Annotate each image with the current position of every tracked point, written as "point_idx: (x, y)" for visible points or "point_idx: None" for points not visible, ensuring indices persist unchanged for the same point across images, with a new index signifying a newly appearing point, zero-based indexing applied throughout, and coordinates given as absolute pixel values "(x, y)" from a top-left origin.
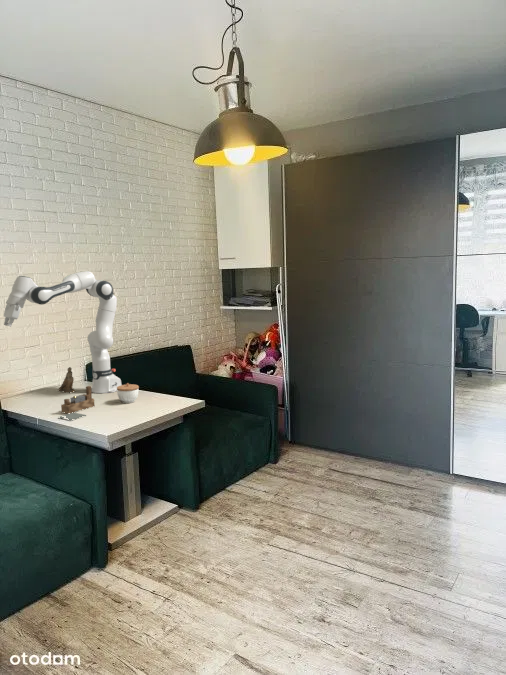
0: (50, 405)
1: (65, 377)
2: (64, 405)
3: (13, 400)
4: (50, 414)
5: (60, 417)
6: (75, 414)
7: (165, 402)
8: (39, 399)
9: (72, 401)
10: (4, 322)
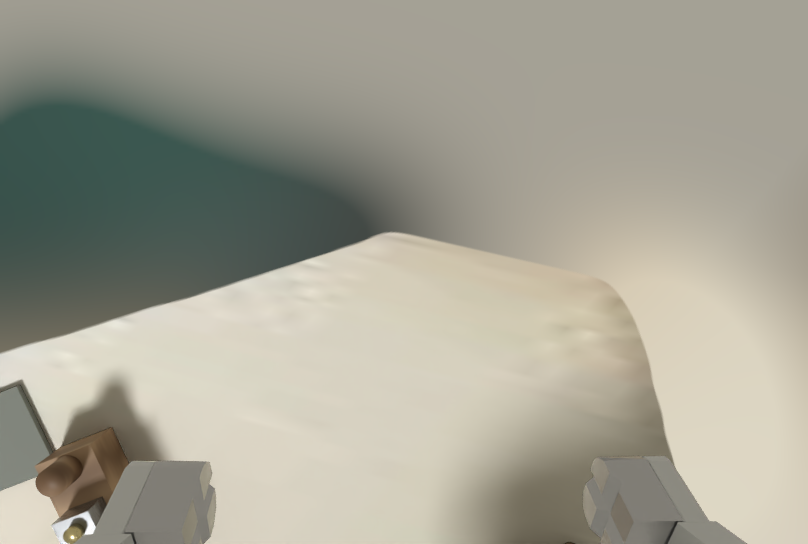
0: (293, 424)
1: None
2: (65, 453)
3: (532, 302)
4: (116, 375)
5: (3, 393)
6: (10, 465)
7: None
8: (458, 414)
9: (83, 506)
10: (675, 503)
